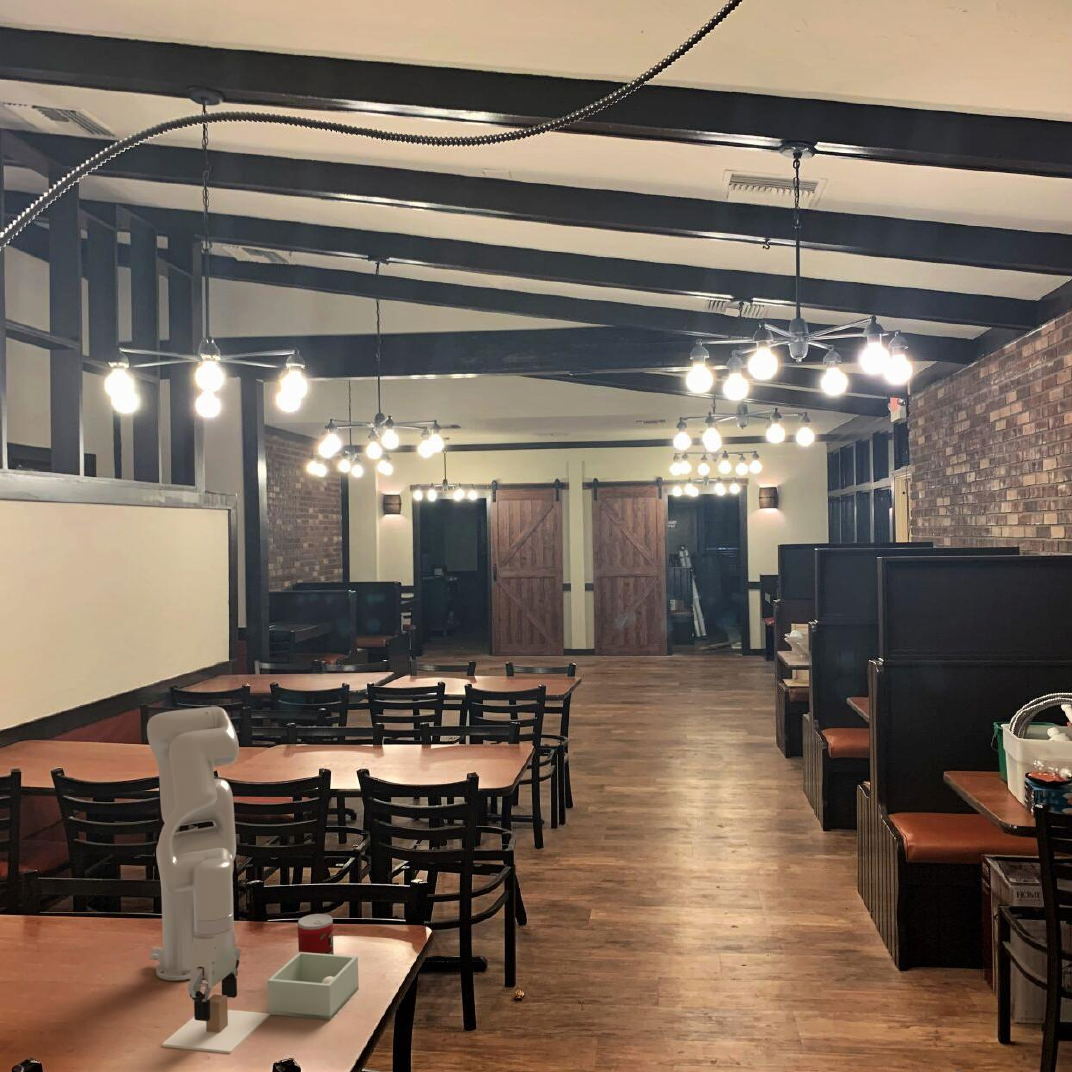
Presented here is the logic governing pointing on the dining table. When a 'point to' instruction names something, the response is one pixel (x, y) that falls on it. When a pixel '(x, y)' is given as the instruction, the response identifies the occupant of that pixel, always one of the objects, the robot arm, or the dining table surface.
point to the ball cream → (327, 979)
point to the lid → (217, 1029)
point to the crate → (313, 985)
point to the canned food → (316, 934)
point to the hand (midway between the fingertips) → (216, 1008)
